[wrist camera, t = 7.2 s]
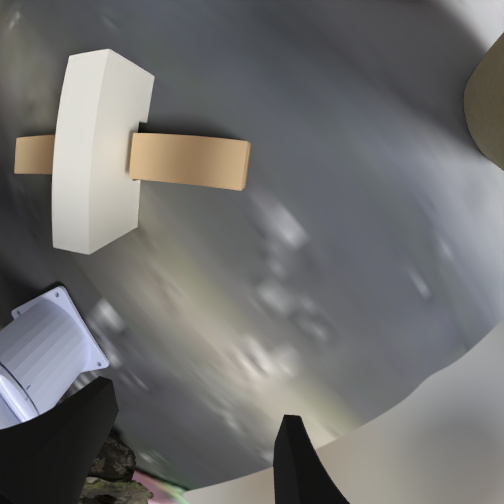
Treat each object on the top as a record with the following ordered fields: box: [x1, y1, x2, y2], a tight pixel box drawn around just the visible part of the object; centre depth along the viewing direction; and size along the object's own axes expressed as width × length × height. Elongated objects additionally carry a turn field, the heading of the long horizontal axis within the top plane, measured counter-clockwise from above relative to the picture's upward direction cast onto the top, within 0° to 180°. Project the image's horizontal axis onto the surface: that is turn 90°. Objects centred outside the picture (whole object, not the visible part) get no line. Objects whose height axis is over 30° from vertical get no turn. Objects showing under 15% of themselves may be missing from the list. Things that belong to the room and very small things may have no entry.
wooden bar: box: [15, 133, 251, 191], centre depth 16 cm, size 16×2×3 cm, turn 82°
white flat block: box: [52, 49, 155, 255], centre depth 14 cm, size 2×10×6 cm, turn 172°
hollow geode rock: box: [78, 431, 154, 504], centre depth 23 cm, size 28×13×15 cm
